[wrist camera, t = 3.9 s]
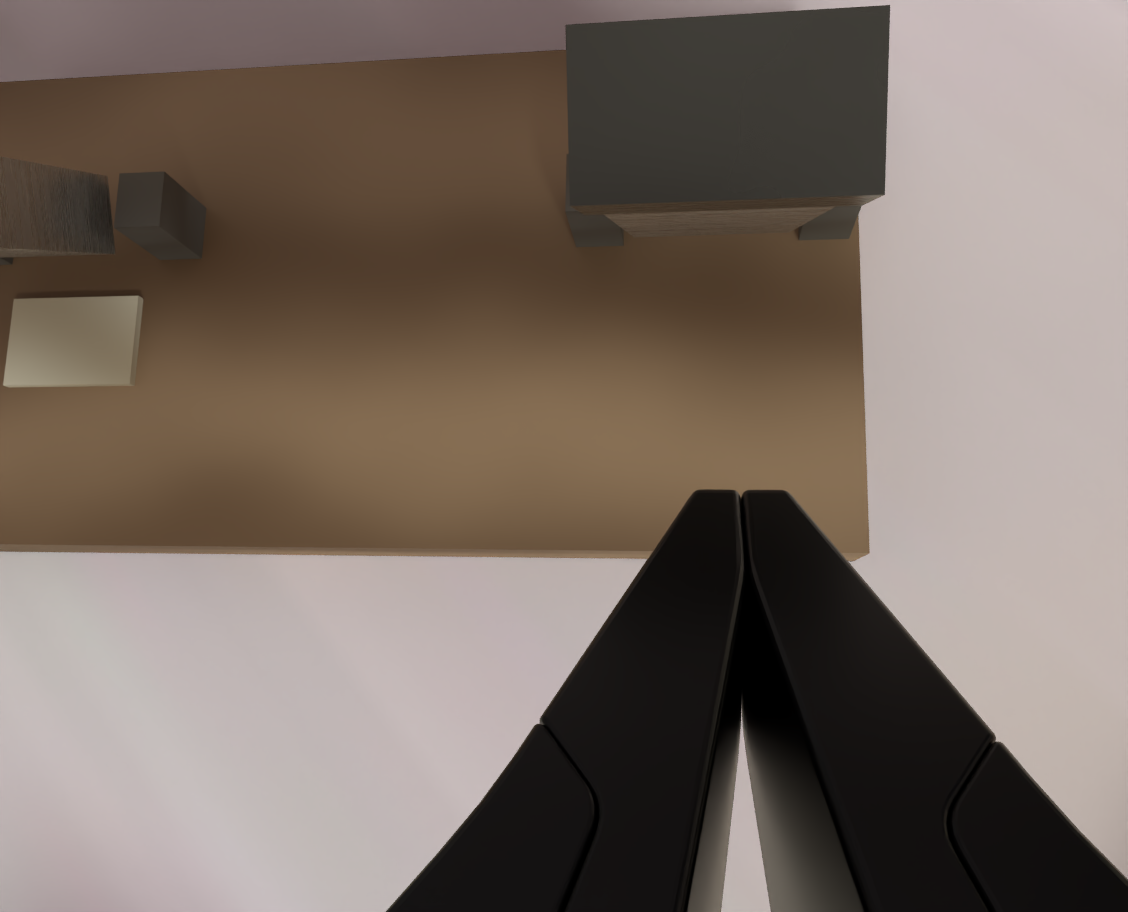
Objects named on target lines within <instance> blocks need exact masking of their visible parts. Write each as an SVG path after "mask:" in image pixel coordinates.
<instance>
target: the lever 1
mask: <svg viewBox="0 0 1128 912" xmlns="http://www.w3.org/2000/svg"><path fill="white" fill-rule="evenodd" d="M100 254H115V245H114V235H113V225H112V215H111V205H110V194H109V184H108V176H104V175H99V174H93V173H88V172H83V171H77V170H72V169H66V168H61V167H55V166H50V165H44V164H39V163H34V162H28V161H23V160H17V159H12V158H6V157H1V156H0V258H6V257H37V256H69V255H100Z"/></svg>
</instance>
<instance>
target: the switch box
mask: <svg viewBox="0 0 1128 912" xmlns="http://www.w3.org/2000/svg"><path fill="white" fill-rule="evenodd" d="M0 156H1V157H6V158H12V159H17V160H23V161H28V162H34V163H39V164H44V165H50V166H55V167H61V168H66V169H72V170H77V171H83V172H88V173H93V174H99V175H104V176H108V184H109V194H110V205H111V215H112V225H113V235H114V245H115V254H100V255H69V256H37V257H6V258H0V551H11V552H100V553H189V554H278V555H367V556H456V557H545V558H634V559H648V558H649V556H650V555H651V553H652V552H653V550H654V549H655V548H656V546H657V545H658V543H659V542H660V540H661V539H662V537H663V536H664V534H665V533H666V531H667V530H668V528H669V527H670V525H671V524H672V522H673V521H674V519H675V518H676V516H677V515H678V513H679V512H680V511H681V509H682V508H683V506H684V505H685V503H686V502H687V500H688V499H689V497H690V496H691V495H692V493H693V492H694V491H696V490H700V489H727V490H735V491H737V492H738V493H739V494H740V497H741V496H742V494H743V492H745V491H746V490H785V491H787V492H789V493H790V494H791V495H792V496H793V497H794V498H795V500H796V501H797V502H798V503H799V504H800V505H801V507H802V508H803V509H804V510H805V511H806V512H807V514H808V515H809V516H810V517H811V518H812V520H813V521H814V522H815V523H816V524H817V525H818V527H819V528H820V529H821V530H822V531H823V533H824V534H825V535H826V536H827V537H828V538H829V540H830V541H831V542H832V543H833V544H834V546H835V547H836V548H837V549H838V550H839V551H840V553H841V554H842V555H843V556H844V557H845V558H846V560H847V561H854V560H856V559H859V558H861V557H863V556H865V555H867V554H869V525H868V495H867V464H866V434H865V404H864V374H863V344H862V314H861V284H860V254H859V223H858V214H859V211H860V208H861V206H836V207H834V208H832V209H831V210H829V211H827V212H825V213H823V214H822V215H820V216H818V217H816V218H814V219H813V220H811V221H809V222H807V223H805V224H804V225H802V226H800V227H798V228H796V229H795V230H793V231H791V232H788V233H757V234H725V235H694V236H662V237H633V236H632V235H630V234H629V233H628V232H626V231H625V230H624V229H622V228H621V227H620V226H618V225H617V224H616V223H614V222H613V221H612V220H610V219H609V218H608V217H606V216H605V215H583V214H582V213H580V212H578V211H577V210H575V209H574V208H572V207H570V193H569V150H568V107H567V64H566V50H554V51H536V52H519V53H501V54H484V55H467V56H449V57H432V58H414V59H397V60H379V61H362V62H345V63H327V64H310V65H292V66H275V67H257V68H240V69H223V70H205V71H188V72H170V73H153V74H135V75H118V76H100V77H83V78H66V79H48V80H31V81H13V82H0Z"/></svg>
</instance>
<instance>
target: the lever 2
mask: <svg viewBox="0 0 1128 912" xmlns="http://www.w3.org/2000/svg"><path fill="white" fill-rule="evenodd" d="M889 23H890V5H885V6H868V7H852V8H836V9H819V10H803V11H786V12H770V13H753V14H737V15H720V16H704V17H687V18H671V19H654V20H638V21H621V22H605V23H589V24H572V25H566V64H567V107H568V150H569V193H570V207H572V208H574V209H575V210H577V211H578V212H580V213H582V214H583V215H605V216H606V217H608V218H609V219H610V220H612V221H613V222H614V223H616V224H617V225H618V226H620V227H621V228H622V229H624V230H625V231H626V232H628V233H629V234H630V235H632V236H633V237H662V236H694V235H725V234H757V233H788V232H791V231H793V230H795V229H796V228H798V227H800V226H802V225H804V224H805V223H807V222H809V221H811V220H813V219H814V218H816V217H818V216H820V215H822V214H823V213H825V212H827V211H829V210H831V209H832V208H834V207H836V206H862V205H864V204H866V203H868V202H870V201H872V200H875V199H877V198H879V197H881V196H883V195H885V164H886V129H887V93H888V58H889Z"/></svg>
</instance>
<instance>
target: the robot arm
mask: <svg viewBox="0 0 1128 912" xmlns="http://www.w3.org/2000/svg"><path fill="white" fill-rule="evenodd" d="M741 705H742V722H743V733H744V741H745V749H746V756H747V762H748V769H749V775H750V781H751V788H752V794H753V801H754V807H755V813H756V820H757V826H758V832H759V839H760V845H761V851H762V858H763V864H764V870H765V877H766V883H767V890H768V896H769V902H770V909H771V912H1128V879H1127V878H1126V877H1125V876H1124V875H1123V874H1122V873H1121V872H1120V871H1119V870H1118V869H1117V868H1116V867H1115V866H1114V865H1113V864H1112V863H1111V862H1110V861H1109V860H1108V859H1107V858H1106V857H1105V856H1104V855H1103V854H1102V853H1101V852H1100V851H1099V850H1098V849H1097V848H1096V847H1095V846H1094V845H1093V844H1092V843H1091V842H1090V841H1089V840H1088V839H1087V838H1086V837H1085V836H1084V835H1083V834H1082V833H1081V832H1080V831H1079V830H1078V828H1077V827H1076V826H1075V825H1074V824H1073V823H1072V822H1071V821H1070V820H1069V818H1068V817H1067V816H1066V815H1065V814H1064V813H1063V812H1062V811H1061V810H1060V808H1059V807H1058V806H1057V805H1056V804H1055V803H1054V802H1053V801H1052V800H1051V798H1050V797H1049V796H1048V795H1047V794H1046V793H1045V792H1044V791H1043V789H1042V788H1041V787H1040V786H1039V785H1038V784H1037V783H1036V782H1035V781H1034V779H1033V778H1032V777H1031V776H1030V775H1029V774H1028V773H1027V771H1026V770H1025V769H1024V768H1023V767H1022V766H1021V764H1020V763H1019V762H1018V761H1017V760H1016V758H1015V757H1014V756H1013V755H1012V754H1011V752H1010V751H1009V750H1008V749H1007V748H1006V746H1005V745H1004V744H1003V743H1001V742H995V741H996V736H995V734H994V733H993V732H992V731H991V729H990V728H989V727H988V726H987V725H986V723H985V722H984V721H983V720H982V719H981V718H980V716H979V715H978V714H977V713H976V712H975V711H974V709H973V708H972V707H971V706H970V705H969V703H968V702H967V701H966V700H965V699H964V698H963V696H962V695H961V694H960V693H959V692H958V690H957V689H956V688H955V687H954V686H953V685H952V683H951V682H950V681H949V680H948V679H947V678H946V676H945V675H944V674H943V673H942V672H941V670H940V669H939V668H938V667H937V666H936V665H935V663H934V662H933V661H932V660H931V659H930V657H929V656H928V655H927V654H926V653H925V652H924V650H923V649H922V648H921V647H920V646H919V645H918V643H917V642H916V641H915V640H914V639H913V637H912V636H911V635H910V634H909V633H908V632H907V630H906V629H905V628H904V627H903V626H902V624H901V623H900V622H899V621H898V620H897V619H896V617H895V616H894V615H893V614H892V613H891V612H890V610H889V609H888V608H887V607H886V606H885V604H884V603H883V602H882V601H881V600H880V599H879V597H878V596H877V595H876V594H875V593H874V591H873V590H872V589H871V588H870V587H869V586H868V584H867V583H866V582H865V581H864V580H863V579H862V577H861V576H860V575H859V574H858V573H857V571H856V570H855V569H854V568H853V567H852V566H851V564H850V563H849V562H848V561H847V560H846V558H845V557H844V556H843V555H842V554H841V553H840V551H839V550H838V549H837V548H836V547H835V546H834V544H833V543H832V542H831V541H830V540H829V538H828V537H827V536H826V535H825V534H824V533H823V531H822V530H821V529H820V528H819V527H818V525H817V524H816V523H815V522H814V521H813V520H812V518H811V517H810V516H809V515H808V514H807V512H806V511H805V510H804V509H803V508H802V507H801V505H800V504H799V503H798V502H797V501H796V500H795V498H794V497H793V496H792V495H791V494H790V493H789V492H787V491H785V490H746V491H745V492H743V494H742V496H741V497H740V494H739V493H738V492H737V491H735V490H727V489H700V490H696V491H694V492H693V493H692V495H691V496H690V497H689V499H688V500H687V502H686V503H685V505H684V506H683V508H682V509H681V511H680V512H679V513H678V515H677V516H676V518H675V519H674V521H673V522H672V524H671V525H670V527H669V528H668V530H667V531H666V533H665V534H664V536H663V537H662V539H661V540H660V542H659V543H658V545H657V546H656V548H655V549H654V550H653V552H652V553H651V555H650V556H649V558H648V559H647V561H646V562H645V564H644V565H643V567H642V568H641V570H640V571H639V573H638V574H637V576H636V577H635V579H634V580H633V582H632V583H631V584H630V586H629V587H628V589H627V590H626V592H625V593H624V595H623V596H622V598H621V599H620V601H619V602H618V604H617V605H616V607H615V608H614V610H613V611H612V613H611V614H610V616H609V617H608V618H607V620H606V621H605V623H604V624H603V626H602V627H601V629H600V630H599V632H598V633H597V635H596V636H595V638H594V639H593V641H592V642H591V644H590V645H589V647H588V648H587V650H586V651H585V652H584V654H583V655H582V657H581V658H580V660H579V661H578V663H577V664H576V666H575V667H574V669H573V670H572V672H571V673H570V675H569V676H568V678H567V679H566V681H565V682H564V684H563V685H562V687H561V688H560V689H559V691H558V692H557V694H556V695H555V697H554V698H553V700H552V701H551V703H550V704H549V706H548V707H547V709H546V710H545V712H544V713H543V715H542V716H541V718H540V724H536V725H535V726H534V727H533V729H532V730H531V732H530V733H529V735H528V736H527V738H526V739H525V741H524V742H523V744H522V745H521V746H520V748H519V749H518V751H517V752H516V754H515V755H514V757H513V758H512V760H511V761H510V762H509V764H508V765H507V766H506V768H505V769H504V771H503V772H502V773H501V775H500V776H499V777H498V779H497V780H496V781H495V783H494V784H493V786H492V787H491V788H490V790H489V791H488V792H487V794H486V795H485V797H484V798H483V799H482V801H481V802H480V803H479V805H478V806H477V807H476V808H475V809H474V810H473V812H472V813H471V814H470V815H469V816H468V818H467V819H466V820H465V821H464V822H463V824H462V825H461V826H460V827H459V828H458V830H457V831H456V832H455V833H454V834H453V836H452V837H451V838H450V839H449V840H448V841H447V843H446V844H445V845H444V846H443V847H442V849H441V850H440V851H439V852H438V853H437V854H436V856H435V857H434V858H433V859H432V860H431V861H430V862H429V864H428V865H427V866H426V867H425V868H424V869H423V870H422V871H421V873H420V874H419V875H418V876H417V877H416V878H415V879H414V880H413V882H412V883H411V884H410V885H409V886H408V887H407V888H406V889H405V891H404V892H403V893H402V894H401V895H400V896H399V897H398V898H397V900H396V901H395V902H394V903H393V904H392V905H391V906H390V908H389V909H388V910H387V911H386V912H721V907H722V898H723V889H724V880H725V871H726V862H727V853H728V844H729V835H730V826H731V817H732V808H733V799H734V790H735V781H736V772H737V763H738V754H739V742H740V729H741Z"/></svg>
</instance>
